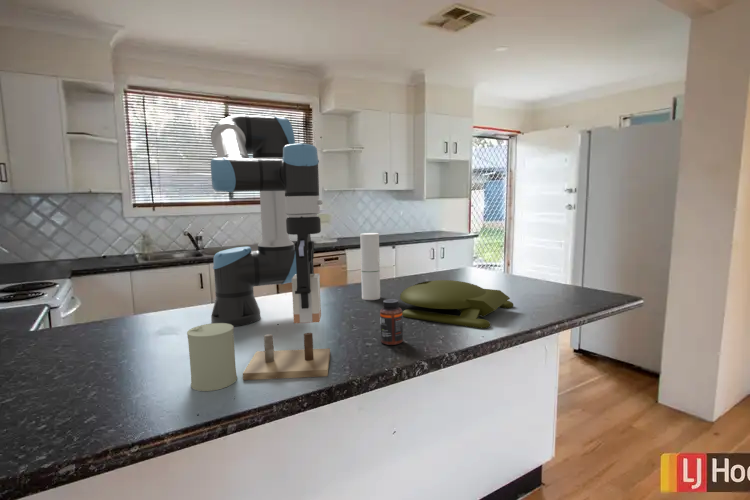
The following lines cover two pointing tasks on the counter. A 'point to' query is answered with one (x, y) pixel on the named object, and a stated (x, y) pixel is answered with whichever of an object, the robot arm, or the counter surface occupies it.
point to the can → (212, 356)
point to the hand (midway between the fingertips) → (307, 317)
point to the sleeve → (315, 298)
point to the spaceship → (454, 302)
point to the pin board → (288, 361)
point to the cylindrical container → (370, 266)
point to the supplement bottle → (391, 323)
